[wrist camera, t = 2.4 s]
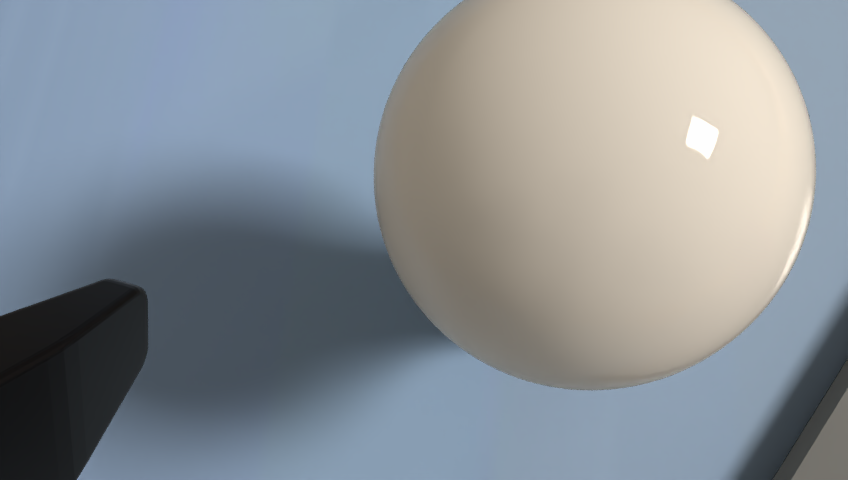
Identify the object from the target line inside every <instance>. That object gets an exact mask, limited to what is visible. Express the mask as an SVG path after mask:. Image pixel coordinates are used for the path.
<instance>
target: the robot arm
mask: <svg viewBox="0 0 848 480" xmlns="http://www.w3.org/2000/svg"><path fill="white" fill-rule="evenodd" d="M147 351H148V300H147V295H146V292H145V291H144V289H142V288H141V287H139V286H136V285H133V284H129V283H126V282H122V281H119V280H115V279H105V280H101V281H98V282H95V283H93V284H90V285H87V286H84V287H81V288H79V289H76V290H73V291H70V292H67V293H64V294H62V295H59V296H56V297H53V298H50V299H47V300H45V301H42V302H39V303H36V304H33V305H30V306H28V307H25V308H22V309H19V310H16V311H13V312H11V313H8V314H5V315H2V316H0V480H77V478H78V477H79V475H80V473H81V472H82V470H83V469H84V467H85V465H86V464H87V462H88V460H89V459H90V457H91V455H92V453H93V452H94V450H95V448H96V446H97V445H98V443H99V441H100V439H101V438H102V436H103V434H104V432H105V431H106V429H107V427H108V426H109V424H110V422H111V420H112V419H113V417H114V415H115V413H116V412H117V410H118V408H119V406H120V405H121V403H122V401H123V399H124V398H125V396H126V394H127V392H128V391H129V389H130V387H131V386H132V384H133V382H134V380H135V379H136V377H137V375H138V373H139V372H140V370H141V368H142V366H143V364H144V361H145V359H146V355H147Z"/></svg>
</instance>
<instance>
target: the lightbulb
mask: <svg viewBox="0 0 848 480" xmlns="http://www.w3.org/2000/svg"><path fill="white" fill-rule="evenodd" d="M815 184H816V154H815V144H814V138H813V131H812V126H811V122H810V118H809V114H808V110H807V107H806V104H805V101H804V98H803V95H802V93H801V90H800V87H799V85H798V83H797V81H796V78H795V76H794V74H793V72H792V70H791V69H790V67H789V65H788V63H787V61H786V60H785V58H784V57H783V55H782V54H781V52H780V50H779V49H778V48H777V46H776V45H775V43H774V42H773V41H772V39H771V38H770V37H769V36H768V34H767V33H766V32H765V31H764V30H763V29H762V27H761V26H760V25H759V24H758V23H757V22H756V21H755V20H754V19H753V18H752V17H751V16H750V15H749V14H748V13H747V12H746V11H745V10H743V9H742V8H741V7H740V6H739V5H737V4H736V3H735V2H734V1H732V0H463V1H462V2H460V3H459V4H458V5H457V6H455V7H454V8H453V9H452V10H450V11H449V12H448V13H447V14H446V15H445V16H444V17H443V18H442V19H441V20H440V21H439V22H438V23H437V24H436V25H435V26H434V27H433V28H432V29H431V30H430V31H429V32H428V33H427V34H426V36H425V37H424V38H423V39H422V40H421V42H420V43H419V44H418V46H417V47H416V48H415V50H414V51H413V53H412V54H411V55H410V57H409V58H408V60H407V62H406V63H405V65H404V67H403V68H402V70H401V72H400V74H399V75H398V77H397V79H396V82H395V84H394V86H393V88H392V90H391V92H390V95H389V97H388V100H387V103H386V105H385V108H384V112H383V115H382V118H381V122H380V126H379V131H378V136H377V141H376V148H375V157H374V196H375V205H376V211H377V217H378V222H379V226H380V230H381V234H382V238H383V241H384V244H385V247H386V250H387V252H388V255H389V257H390V260H391V262H392V264H393V266H394V269H395V271H396V272H397V274H398V276H399V278H400V280H401V282H402V284H403V285H404V287H405V289H406V290H407V292H408V293H409V295H410V296H411V298H412V299H413V300H414V302H415V303H416V305H417V306H418V307H419V308H420V310H421V311H422V312H423V313H424V315H425V316H426V317H427V318H428V319H429V320H430V321H431V322H432V323H433V324H434V325H435V326H436V328H438V329H439V330H440V331H441V332H442V333H443V334H444V335H445V336H446V337H447V338H449V339H450V340H451V341H452V342H453V343H455V344H456V345H457V346H459V347H460V348H461V349H463V350H464V351H466V352H467V353H468V354H470V355H472V356H473V357H475V358H476V359H478V360H480V361H481V362H483V363H485V364H487V365H489V366H491V367H493V368H495V369H497V370H499V371H501V372H504V373H506V374H508V375H511V376H514V377H516V378H519V379H522V380H525V381H528V382H532V383H536V384H540V385H544V386H549V387H555V388H562V389H571V390H611V389H620V388H627V387H633V386H638V385H642V384H646V383H650V382H654V381H657V380H660V379H663V378H666V377H669V376H672V375H674V374H677V373H679V372H681V371H684V370H686V369H688V368H690V367H692V366H694V365H696V364H698V363H700V362H702V361H703V360H705V359H707V358H708V357H710V356H712V355H713V354H715V353H716V352H718V351H719V350H721V349H722V348H723V347H725V346H726V345H728V344H729V343H730V342H732V341H733V340H734V339H735V338H736V337H738V336H739V335H740V334H741V333H742V332H743V331H744V330H745V329H746V328H748V327H749V326H750V325H751V324H752V323H753V322H754V321H755V320H756V319H757V318H758V316H759V315H760V314H761V313H762V312H763V311H764V310H765V308H766V307H767V306H768V305H769V304H770V302H771V301H772V300H773V298H774V297H775V295H776V294H777V293H778V291H779V290H780V288H781V287H782V285H783V284H784V282H785V280H786V279H787V277H788V275H789V273H790V271H791V270H792V268H793V266H794V264H795V261H796V259H797V257H798V255H799V252H800V250H801V247H802V245H803V242H804V239H805V236H806V233H807V230H808V226H809V222H810V218H811V214H812V209H813V203H814V195H815Z"/></svg>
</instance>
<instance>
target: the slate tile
mask: <svg viewBox="0 0 848 480" xmlns="http://www.w3.org/2000/svg"><path fill="white" fill-rule="evenodd" d="M773 480H848V359H847V361H846V362H845V364H844V366H843V367H842V369H841V370H840V372H839V374H838V375H837V377H836V378H835V380H834V382H833V383H832V385H831V386H830V388H829V390H828V391H827V393H826V395H825V396H824V398H823V399H822V401H821V403H820V404H819V406H818V407H817V409H816V411H815V412H814V414H813V415H812V417H811V419H810V420H809V422H808V424H807V425H806V427H805V428H804V430H803V432H802V433H801V435H800V436H799V438H798V440H797V441H796V443H795V444H794V446H793V448H792V449H791V451H790V452H789V454H788V456H787V457H786V459H785V461H784V462H783V464H782V465H781V467H780V469H779V470H778V472H777V473H776V475H775V477H774V478H773Z"/></svg>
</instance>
